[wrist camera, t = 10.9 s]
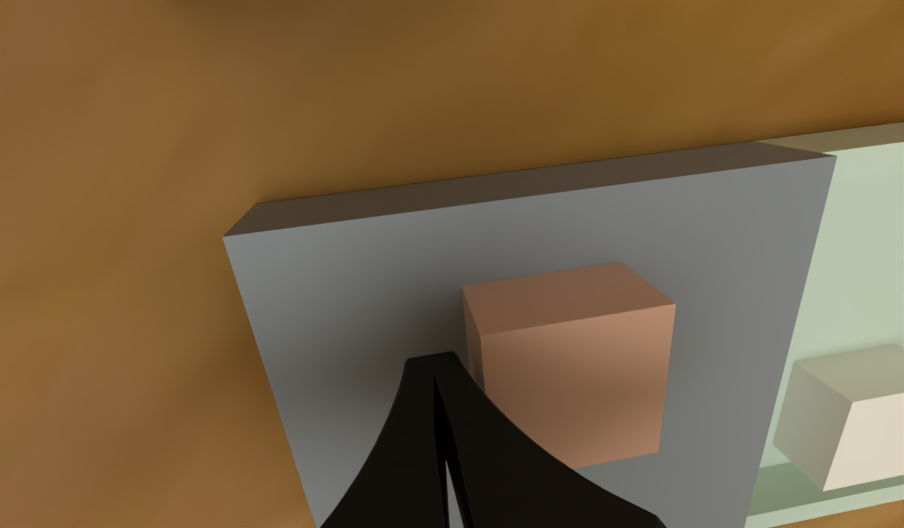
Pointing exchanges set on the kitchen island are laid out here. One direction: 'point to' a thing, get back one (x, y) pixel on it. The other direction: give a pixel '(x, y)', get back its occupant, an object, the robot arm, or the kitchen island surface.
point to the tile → (845, 417)
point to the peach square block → (574, 358)
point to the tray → (843, 304)
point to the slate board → (530, 253)
